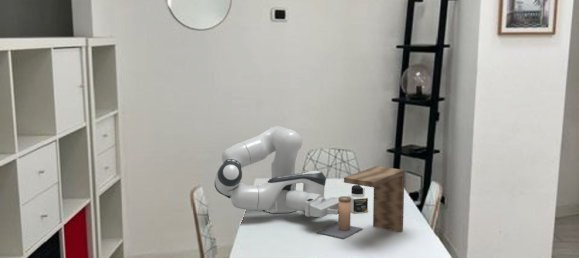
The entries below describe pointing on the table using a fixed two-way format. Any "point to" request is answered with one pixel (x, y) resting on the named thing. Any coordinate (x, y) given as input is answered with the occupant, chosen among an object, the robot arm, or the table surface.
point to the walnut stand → (384, 195)
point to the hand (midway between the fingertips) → (344, 209)
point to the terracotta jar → (344, 213)
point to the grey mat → (338, 231)
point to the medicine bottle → (358, 199)
